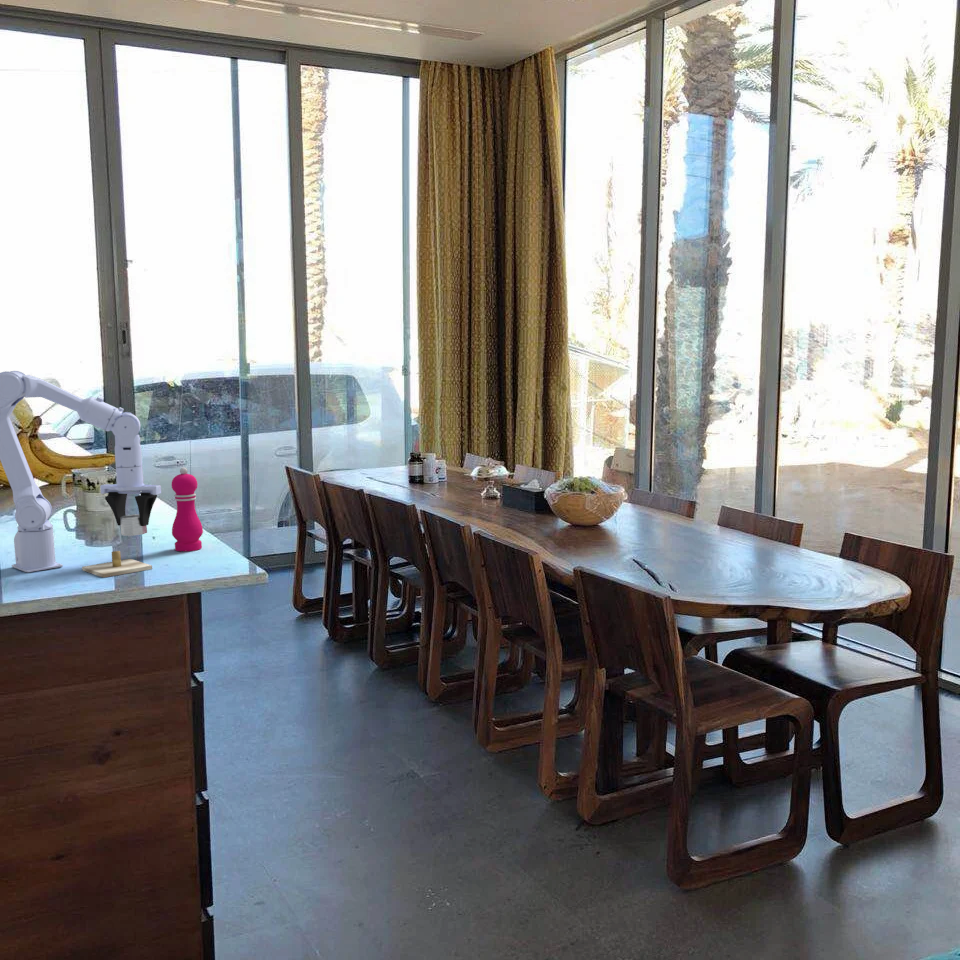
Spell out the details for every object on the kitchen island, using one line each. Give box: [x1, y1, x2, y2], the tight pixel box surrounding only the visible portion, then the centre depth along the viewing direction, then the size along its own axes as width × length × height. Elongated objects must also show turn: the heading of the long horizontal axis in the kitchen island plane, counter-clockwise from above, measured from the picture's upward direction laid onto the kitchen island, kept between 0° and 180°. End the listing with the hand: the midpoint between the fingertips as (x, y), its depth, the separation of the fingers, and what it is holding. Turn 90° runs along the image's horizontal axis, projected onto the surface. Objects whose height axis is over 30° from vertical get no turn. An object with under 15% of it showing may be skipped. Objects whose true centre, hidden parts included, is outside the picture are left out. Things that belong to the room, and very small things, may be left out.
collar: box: [120, 513, 148, 537], centre depth 226 cm, size 5×5×4 cm
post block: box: [81, 550, 153, 578], centre depth 218 cm, size 11×11×4 cm
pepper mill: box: [171, 466, 204, 552], centre depth 238 cm, size 7×7×20 cm
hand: (132, 525), depth 226 cm, fingers closed on collar, 5 cm apart
